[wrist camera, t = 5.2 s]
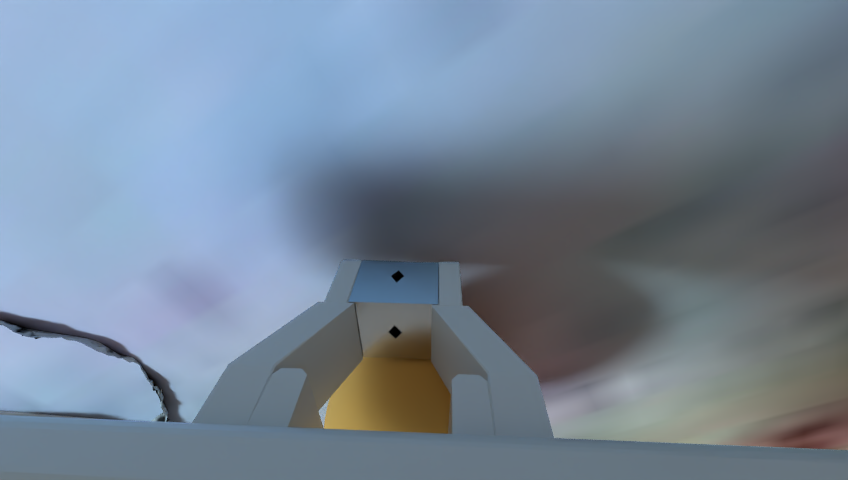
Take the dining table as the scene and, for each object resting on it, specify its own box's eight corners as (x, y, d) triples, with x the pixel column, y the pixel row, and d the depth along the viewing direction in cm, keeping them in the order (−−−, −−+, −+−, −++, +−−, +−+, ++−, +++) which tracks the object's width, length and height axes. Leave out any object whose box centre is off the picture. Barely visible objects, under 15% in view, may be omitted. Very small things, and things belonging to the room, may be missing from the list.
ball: (524, 275, 11) (504, 390, 14) (335, 277, 11) (358, 391, 14) (610, 498, 6) (548, 599, 9) (253, 498, 6) (319, 598, 9)
